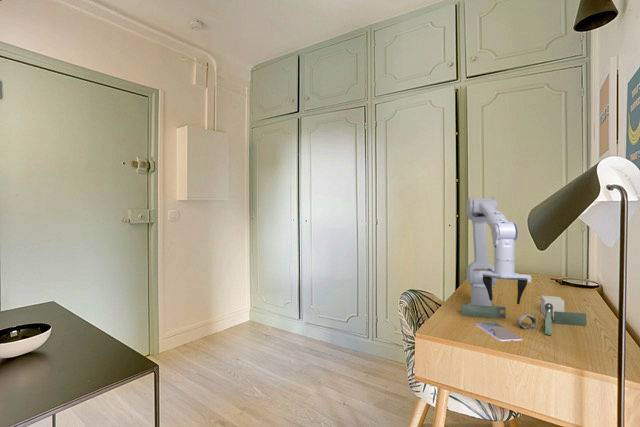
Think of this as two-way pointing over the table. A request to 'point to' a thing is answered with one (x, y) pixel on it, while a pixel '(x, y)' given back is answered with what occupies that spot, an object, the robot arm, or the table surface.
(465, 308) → the latch stile
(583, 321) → the hinge post
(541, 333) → the table surface
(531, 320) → the wristwatch
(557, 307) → the off-white chamfered cube
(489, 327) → the mobile phone
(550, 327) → the sage green stepped bar
